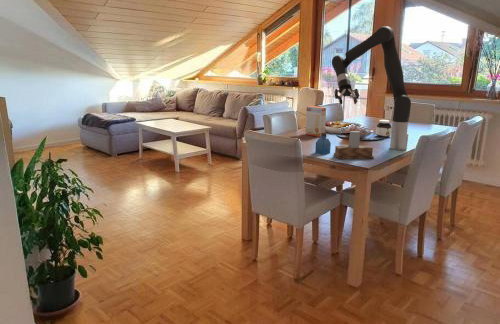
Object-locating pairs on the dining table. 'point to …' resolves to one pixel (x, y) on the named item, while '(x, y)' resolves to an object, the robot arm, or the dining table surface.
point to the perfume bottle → (323, 145)
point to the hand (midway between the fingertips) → (348, 103)
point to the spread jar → (383, 128)
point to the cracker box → (315, 120)
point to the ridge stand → (353, 152)
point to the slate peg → (354, 139)
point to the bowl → (335, 126)
